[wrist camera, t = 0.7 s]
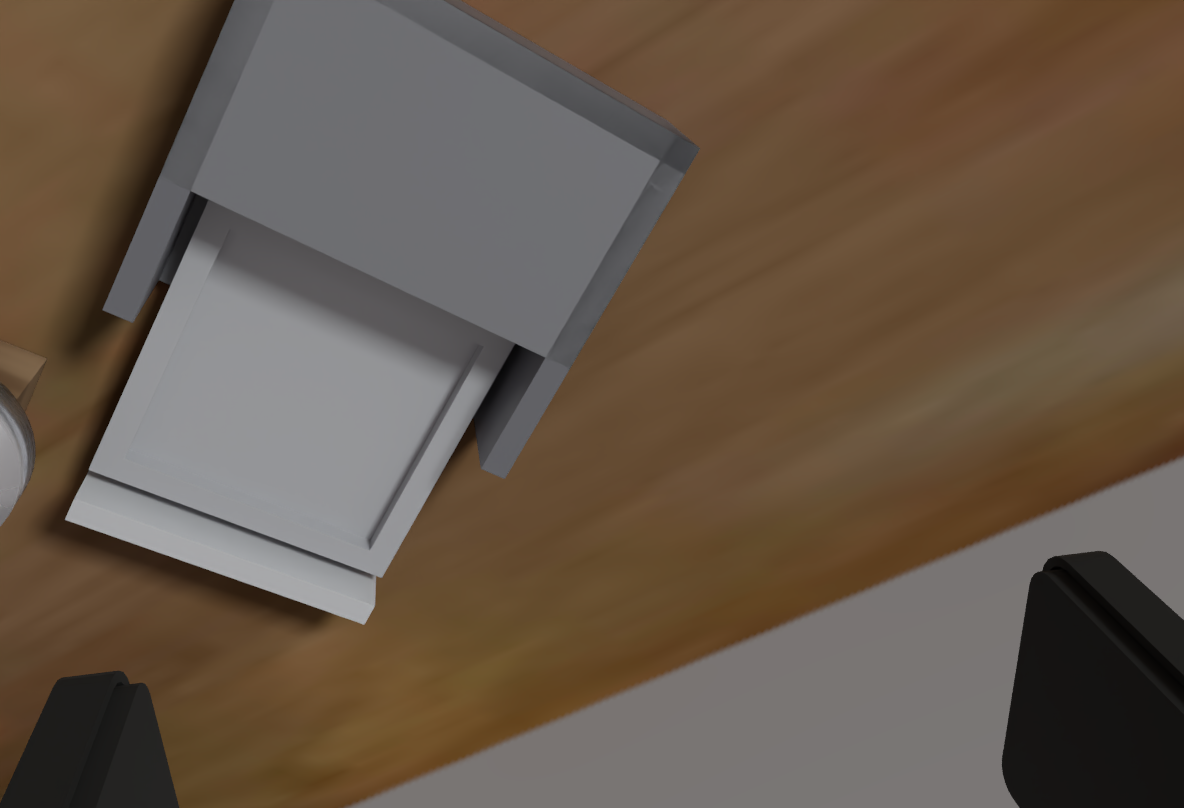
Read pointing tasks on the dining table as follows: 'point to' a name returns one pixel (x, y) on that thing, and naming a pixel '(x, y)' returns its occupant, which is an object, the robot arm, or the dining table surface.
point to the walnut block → (20, 371)
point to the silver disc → (14, 451)
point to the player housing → (423, 175)
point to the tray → (285, 418)
